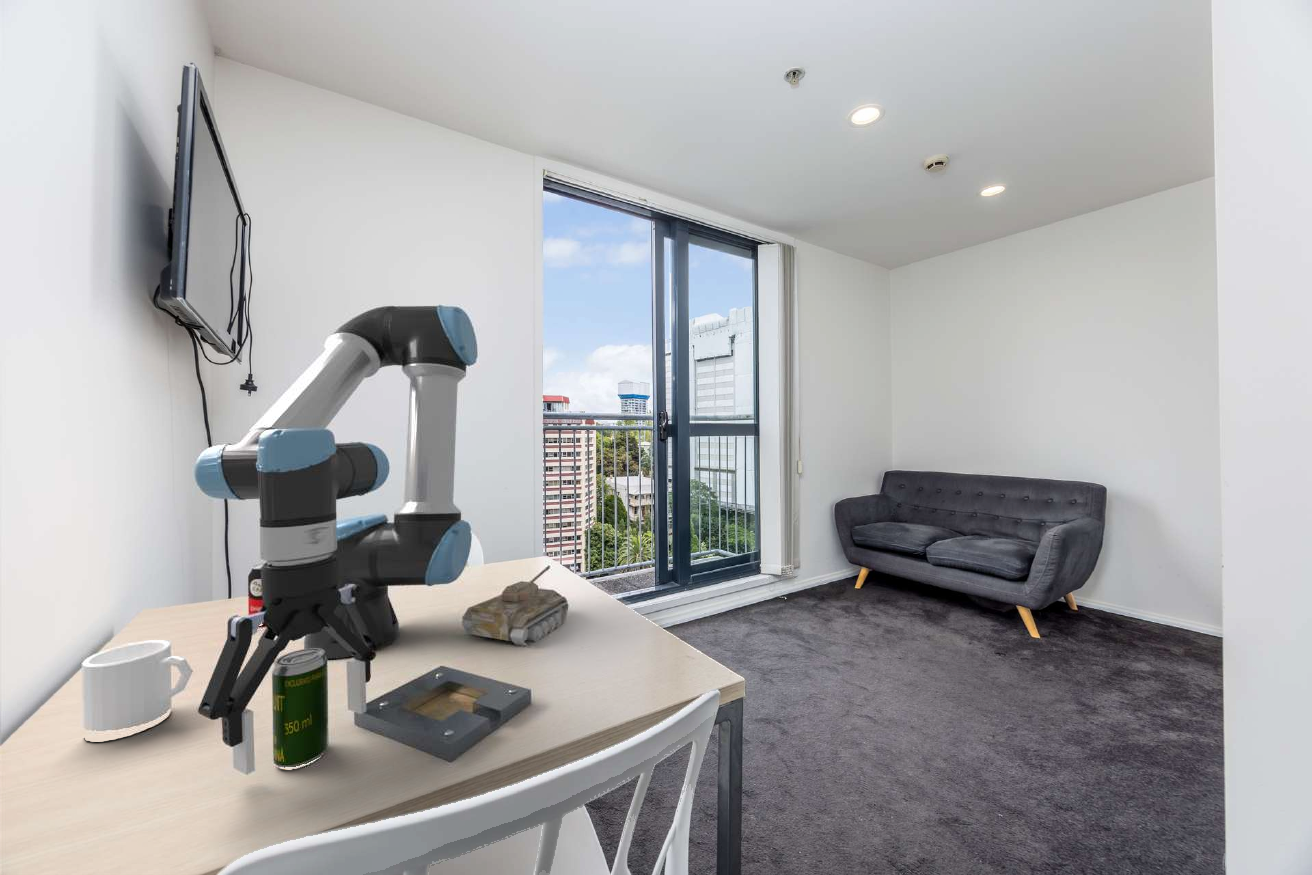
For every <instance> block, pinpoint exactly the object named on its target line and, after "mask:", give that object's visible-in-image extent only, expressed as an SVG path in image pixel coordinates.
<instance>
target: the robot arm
mask: <svg viewBox="0 0 1312 875" xmlns="http://www.w3.org/2000/svg"><path fill="white" fill-rule="evenodd" d="M323 350H324V352H323V353H321V355H319V357H318V358H317V359H316V360H314V362H313V363H312V364H311V365H310V366H309V367H308V368H307V369H306V371H304V373H303V374H302V375H301V376H300V377H298V379H297V380H296V381H295V382H294V383H293V384H292V385H291V386H290V388H288V389H287V390H286V391H285V392H284V394H282V396H280V398H279V399H278V400H277V401H276V402H275V403H274V404H273V405H272V406H271V407H270V408H269V409H268V410H267V412H266V413H265V414H264V415H262V417H260V419H259V420H258V421H257V422H256V423H255V424H254V425H253V426H252V427H251V428H250V430H248V432H247V433H246V434H244V436H242V438H240V440H239V441H238V442H237V443H235V444H233V443H224V444H222V445H220V444H219V445H214V446H210V447H208V448H206V449H205V450H204V451H202V452H201V453H200V455H199V456H198V458H197V459H196V461H195V465H194V471H193V472H194V479H195V483H196V485H197V486H198V487H199V488H200V491H202V492H203V493H204V494H205V495H207V496H209V497H211V498H213V499H223V500H238V501H247V500H259V510H260V511H259V514H260V516H259V548H260V549H259V550H260V551H259V552H260V553H259V554H260V555H259V556H260V559H261V560H262V561H264V563H265V564H264V565H263V566H262V567H261V592H262V598H263V605H262V608H261V610H260V612H259V613H256V614H252V615H249V614H248V615H244V616H241V615H232V616H231V617H229V619H228V620H227V630H226V631H227V635H226V636H227V638H226V640H225V643H224V645H223V648H222V650H221V651H220V652H221V653H220V655H219V658H218V660H217V663H216V665H215V667H214V670H213V673H212V675H211V676H210V680H209V682H208V685H207V687H206V689H205V692H204V694H203V697H202V699H201V701H200V703H199V707H198V708H197V714H199V715H201V716H204V717H205V718H207V719H209V720H212V721H216V720H219V719H220V718H221V730H222V732H221V733H222V736H221V737H222V741H223V743H224V744H225V745H227V746H228V747H230V748H232V761H233V763H232V764H233V769H235V770H237V771H239V772H240V773H242V774H244V775H246V776H247V775H249V774H252V773H253V772H256V771H255V770H256V769H255V768H256V767H255V766H256V765H255V732H254V729H255V728H254V711H253V710H251V709H249V708H247V706H248V705H249V703H250V701H251V700H252V699H253V697H254V695H255V693H256V692H257V690H258V688H259V687H260V686H261V684H262V682H263V680H264V678H266V677H265V676H266V675H267V674H268V672H269V671H270V669H271V668H272V665H273V664H274V662H275V661H276V659H278V658H277V657H278V656H279V654H280V653H281V652H282V651H284V650H286V648H287V646H288V644H289V643H290V641H293V642H294V641H297V640H301V639H302V638H304V640H303V649H309V648H320V649H323V650H324V651H325V656H326V658H327V660H332V658H334V659H335V658H336V659H343V658H349V657H354V658H350V659H347V660H346V689H347V692H346V693H347V710H348V711H351V712H353V713H354V712H356V713H359V714H362V713H364V712H366V703H367V687H366V686H367V683H369V682H370V680H371V678H372V676H371V675H372V674H371V673H372V672H371V668H372V667H371V662H372V661H373V660H375V659H376V656H377V651H378V650H382V649H383V648H384V647H385V646H387V645H388V644H389V645H390V644H391V643H392V642H394V641H395V640H397V638H398V636H399V633H400V632H399V631H400V628H399V619H398V616H397V615H396V612H395V610H394V607H393V605H392V602H391V599H390V597H389V587H395V586H396V587H397V586H398V587H399V586H427V587H433V586H434V585H435V586H437V585H448V584H451V583H453V582H455V581H457V580H458V579H459V578H460V576H461V575H462V573H463V571H464V569H465V568H466V566H467V563H468V560H469V557H470V552H471V547H472V537H473V534H472V532H471V530H472V527H471V524H469V522H468V521H465V520H464V519H462V510H461V509H459V508H458V507H457V505H455V504H454V503H455V502H454V495H455V494H454V491H455V490H454V489H455V487H454V486H455V466H456V465H455V464H456V462H455V461H456V460H455V459H456V439H457V438H456V435H457V414H458V413H457V410H458V409H457V408H458V407H457V406H458V405H457V404H458V384H459V383H460V382H461V381H462V380H463V379H464V378H466V376H467V366H468V367H472V365H475V364H476V363H477V359H478V344H477V337H476V333H475V329H474V327H473V323H472V321H471V319H470V317H469V315H468V314H467V312H466V311H465V310H464V309H462V308H461V307H458V306H448V305H447V306H446V305H442V304H438V305H416V306H415V305H411V306H410V305H407V306H406V305H405V306H404V305H402V306H401V305H399V306H398V305H397V306H396V305H395V306H394V305H386V306H385V305H384V306H379V307H375V308H373V309H369V310H367V311H365V312H363V313H360V314H359V315H357V316H355V317H353V318H352V319H351V318H350V320H348V321H347V322H345V323H344V324H342V325H341V326H340V327H339V328H337V329H336V330H335V331H334V332H333V333H331V335H330V336H329V337H328V338H327V339H326V341H325V344H324V346H323ZM392 366H399V367H400V366H401V371H402V372H403V374H404V375H405V376H407V378H408V379H409V398H408V415H407V416H408V417H407V418H408V419H407V435H406V437H407V438H406V454H405V455H406V456H405V473H404V474H405V475H404V476H405V477H404V478H405V479H404V496H403V499H404V501H403V504H402V505H401V506H400V507H399V508H398V509H397V510H396V511H395V512H394V515H393V522H389V518H388V517H387V515H386V514H381V513H379V514H372V515H371V514H370V515H365V516H358V517H353V518H347V519H343V520H338V521H337V500H342V499H346V498H352V497H356V496H358V497H359V496H360V497H361V496H365V495H366V494H369V493H371V492H375V491H376V490H378V489H379V488H381V487H382V486H383V485H384V484H385V482H386V481H387V479H388V476H389V474H390V468H391V467H390V461H389V459H388V457H387V455H386V453H385V452H384V451H383V450H382V449H381V448H380V447H378V446H377V445H374V444H372V443H367V442H366V443H364V442H361V441H357V442H345V443H344V442H342V443H341V442H340V443H337V442H336V441H335V435H334V433H333V431H332V430H330V429H327V427H328V426H329V425H330V423H331V422H332V420H334V418H335V417H336V416H337V414H338V413H339V412H340V411H341V409H342V408H343V407H344V406H345V404H346V403H347V402H348V400H349V399H350V398H351V396H352V395H353V394H354V393H355V391H356V390H357V388H358V387H359V386H360V385H361V383H362V382H363V381H364V379H366V378H367V379H368V378H370V377H372V376H374V375H376V374H377V372H379V370H380V369H381V368H385V367H392ZM261 623H262V624H263V625H264V626H263V627H265V628H266V629H264V631H263V633H262V634H261V636H260V638H259V639H258V643H257V647H256V649H254V652H253V653H252V654H251V656H250V657H249V660H248V661H247V663H246V664H245V665H244V661H245V659H246V657H247V655H248V652H249V649H250V646H251V643H252V639H253V636H254V635H256V634H257V633H258V627H260V626H259V625H260V624H261ZM275 638H276V639H275ZM329 658H330V659H329ZM334 659H333V660H334ZM243 665H244V667H243ZM242 667H243V669H242Z"/></svg>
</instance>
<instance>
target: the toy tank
mask: <svg viewBox="0 0 1312 875" xmlns="http://www.w3.org/2000/svg"><path fill="white" fill-rule="evenodd" d="M550 567H551V566H550V565H547V566H546V567H545V568H544V569H543V570H542V571H541V572H539V573H538V574H537V575H536V576H534V577H533V578H532V579H531V580H530V581H518V582H516V583H512V584H510V585H508V586H506V587H505V588H504V589H503V591H502V593H501V594H499V595H497V596H495V597H492V598H490V599H487V600H484V601H482V602H480V603H477V604H475V605H472V606H470V607H468V608H467V609H466V610H465V613H463V615H462V618H461V619H462V621H461V625H462V627H463V628H464V629H465V631H466V632H467V633H468V634H469V635H472V636H478V637H483V638H490V639H495V640H503V641H508V642H513V644H514V645H517V646H523V647H529V644H527V643H526V642H525V641H532V642H538V641H539V640H540V639H541V638H544V637H545V636H547V634H548V633H551V632H553V631H554V630H555V628H556V629H557V628H559V627H560V626H561V625H563V624H564V623H565V621H566V618H567V616H568V615H567V614H568V611H569V607H570V606H569V603H568V600H567V598H566V596H562V595H561V594H560V593H559V592H557V591H556V590H554V589H548V588H547V589H546V588H540V587H539V585H538V584H536V583H534V582H536V581H537V580H538V579H539V578H540V577H541V576H542V575H544V574H545V573H546V572H548V571H549V570H550Z"/></svg>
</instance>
